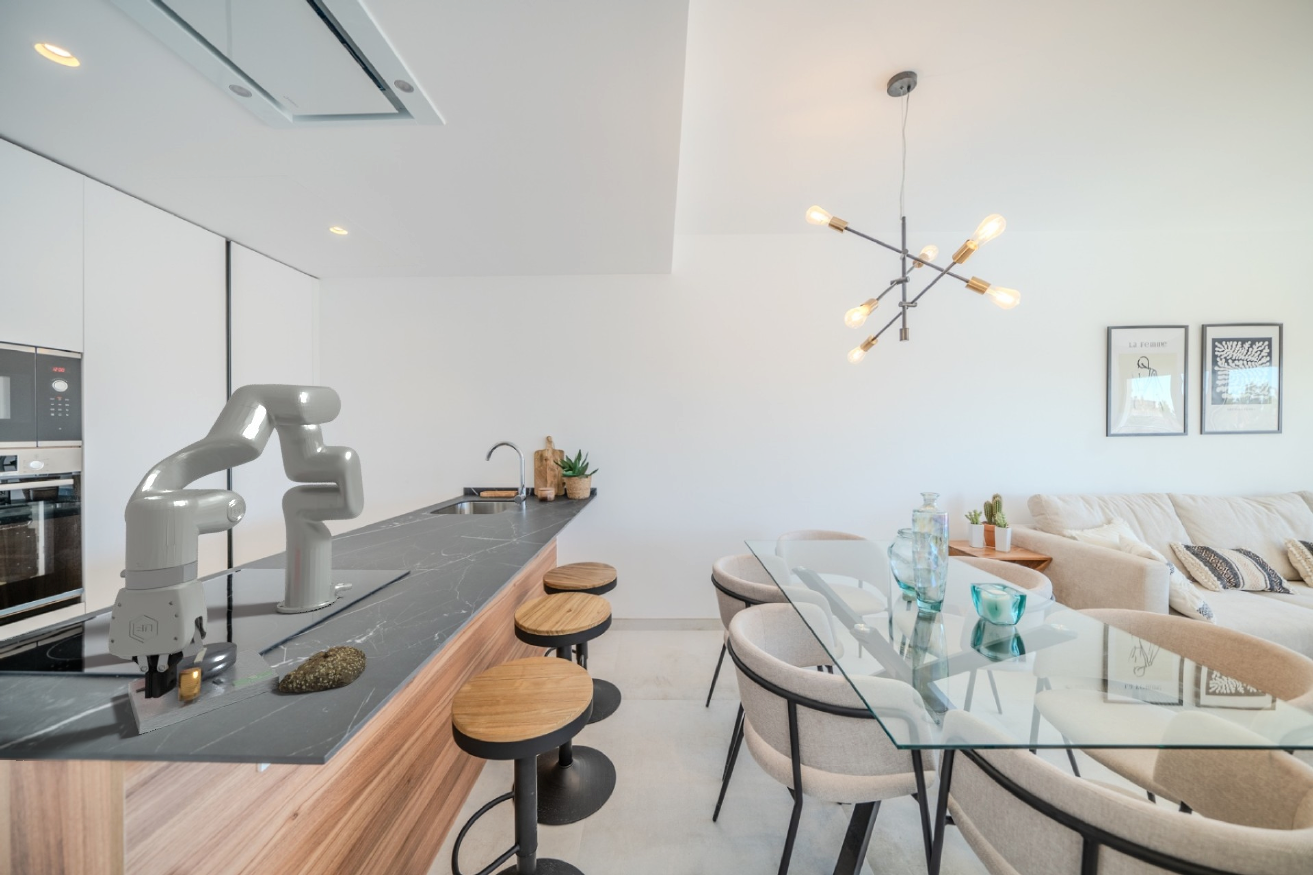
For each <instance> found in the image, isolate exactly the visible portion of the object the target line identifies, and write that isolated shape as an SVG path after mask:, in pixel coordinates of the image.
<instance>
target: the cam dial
mask: <svg viewBox="0 0 1313 875" xmlns="http://www.w3.org/2000/svg"><path fill="white" fill-rule="evenodd" d="M203 647H204V649H203V651H201V652H199V653H197V654H195V655H192V656H188V657H185V658H183V659H182V661H181V662H180V663H178V664H177V682H179V690H178V700H179V701H187V700H191V699H193V698H196V697H198V696H199V695H200V687H201V682H202V680H203V677H207V676H210V675H213V674H216V673H218V672H221V671H223V670H225V669H227V668H229V667H231V666H232V665H233V664H235V662H236V658H237V653H238V652H237V651H238V648H237V647H238V645H237V644H236V643H235V642H229V641H224V642H223V641H220V642H212V643H205V644H203Z"/></svg>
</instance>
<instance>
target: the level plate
mask: <svg viewBox="0 0 1313 875" xmlns="http://www.w3.org/2000/svg"><path fill="white" fill-rule="evenodd" d="M279 683H280V675H279V673H278V672H276V670H275V669H273V667H272V666H271V665H270V664H269V663H268V662H267V660H266V659H264V657H263V656H262V655H261V654H260V653H259V652H258V651H257V649H255V648H254V647H253V648H249V649H246V650H242V651H238V652H237V658H236V662H235V664H233V665H232V666H231V667H229V668H227V669H225V670H223V671H221V672H218V673H216V674H213V675H210V676H207V677H203V680H202V682H201V687H200V695H199V696H198V697H196V698H193V699H191V700H187V701H179V700H178V690H179V682H177V683H176V687H175V688H174V689H173V690H171V691H169V692H168V693H166V694H164V695H163V696H161V697H159V698H153V697H152V698H150V699H145V677H144V678H141V679H137V680H134V681H130V682H128V685H127V686H128V690H127V692H128V693H127V694H128V698H129V703H130V706H131V710H132V712H133V713H132V714H133V716H134V717H133V718H134V721H135V724H136V729H137V732H138V735H139V734H141V733H144V732H148V733H151V732H153V731H152V730H154V731H156V730H159V729H162V728H165V727H167V726H170V725H174V724H177V723H179V722H182V721H185V720H188V719H191V718H194V717H196V716H200V715H203V714H205V713H209V712H212V711H215V710H217V709H220V708H222V707H226V706H229V705H231V704H235V703H237V702H240V701H243V700H246V699H249V698H252V697H256V696H257V695H261V694H265V693H266V692H269V691H272V690H275V689H279V688H278V686H279ZM155 729H156V730H155ZM150 731H151V732H150Z"/></svg>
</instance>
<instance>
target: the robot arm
mask: <svg viewBox="0 0 1313 875" xmlns="http://www.w3.org/2000/svg"><path fill="white" fill-rule="evenodd" d="M341 402H342V401H341V398H340V395H339V394H338V392H337V391H336V390H335V389H334V388H332V387H329V386H321V385H320V386H319V385H318V386H317V385H302V384H301V385H299V384H286V383H285V384H283V383H281V384H280V383H279V384H277V383H266V384H265V383H264V384H263V383H262V384H260V383H259V384H257V383H255V384H247V385H243V386H240V387H238V388H237V389H235V391H234V392H233V393H232V394H231V396H230V397H229V398H228V401H226V403H225V404H224V406H223V408H222V410H221V412H220V413H219V415H218V416H217V418H216V420H215V421H214V424H213V425H212V427H211V428H210V430H209V432H208V433H207V434H206V436H205V437H204V438H201V439H200V440H197V441H195V442H193V443H191V444H188V445H187V446H185V447H183V448H181V449H179V450H177V451H176V452H174V453H172V454H171V455H168V456H167V457H165V458H163V459H161V460H160V461H159V462H157V463H156V464H154V465H153V466H152V467H151V468H150V469H149V470H148V471H147V473H146V474H145V475H144V476H143V477H142V479H141V480H140V482H139V484H138V485H137V486H136V487H135V489H134V491H133V492H132V494H131V496H130V497H129V499H128V502H127V503H126V506H125V509H124V522H125V561H124V562H125V563H124V566H125V567H124V569H122V570H121V571H120V572H119V576H120V578H122V579H124V580H125V581H124V583H125V584H124V587H122V588H120V589H119V590H118V592H117V594H116V597H115V600H114V602H113V607H112V611H111V616H110V623H109V630H108V642H107V643H108V645H107V646H108V648H107V649H108V652H109V654H110V655H113V656H116V657H118V658H119V659H123V660H130V661H133V662H134V663H135V664H137V666H138V669H139V672H141V673H142V674H144V675H145V676H144V678H145V699H150V698H152V697H153V698H159V697H161V696H163V695H164V694H166V693H168V692H169V691H171V690H173V689H174V688H175V687H176V683H177V664H178V663H180V662H181V661H182V659H183V658H185V657H188V656H192V655H195V654H197V653H199V652H201V651H203V649H204V647H203V645H204V643H203V640H204V639H205V638H206V636H207V633H208V609H207V600H206V595H205V590H204V587H203V582H202V580H201V579H198V569H199V568H198V565H199V564H198V563H199V560H198V558H199V536H200V535H206V534H207V535H208V534H216V533H221V532H225V531H228V530H231V529H232V528H234V527H235V526H237V525H238V524H239V523H240V522H241V521H242V520H243V518H244V516H245V513H246V511H247V510H246V509H247V505H246V501H245V499H244V498H243V497H242V495H241V494H239V493H237V492H235V491H233V490H229V489H223V488H222V489H221V488H217V489H216V488H215V489H214V488H207V489H206V488H202V489H199V488H193V489H192V488H189V489H188V488H186V487H187V486H189V485H190V484H192V483H193V482H195V481H197V480H199V479H201V478H204V477H207V476H208V475H212V474H215V473H217V472H218V473H219V472H221V471H225V470H228V469H232V468H235V467H239V466H242V465H244V464H248V463H250V462H252V461H253V462H254V460H257V459H258V458H259V457H261V455H262V454H263V453H264V450H265V448H266V446H267V444H268V441H269V440H270V437H271V435H272V434H273V431H274V430H276V432H277V434H278V435H277V436H278V439H279V445H280V451H281V458H282V463H283V464H282V465H283V470H284V473H285V476H286V477H287V479H288V480H290V481H291V482H295V483H302V484H301V485H297V486H292V487H290V488H289V489H288V490H287V491H285V492H284V494H283V496H282V499H281V508H282V513H283V514H282V515H283V517H284V522H285V523H284V525H285V540H286V541H285V566H284V567H285V570H284V571H285V572H284V573H285V576H284V578H285V579H284V600H282V601H279V602H278V603H277V605H276V611H277V612H279V613H281V614H282V613H283V614H299V613H300V612H301V613H307V612H311V611H310V610H313V611H315V610H314V609H317V608H320V607H322V606H325V605H327V604H330V603H331V602H334V601H335V600H336V599H337V598H339V596H338V594H339V592H346V591H349V590H350V591H351V590H352V589H353V588H352V587H353V584H352V582H346V583H343V582H339V583H334V582H332V552H333V550H332V547H333V546H332V544H333V537H332V533H331V531H330V529H329V527H328V526H327V525H326V524H325V523H324V521H343V520H346V521H347V520H353V519H356V518H358V517H360V515H361V514H362V513H363V511H364V507H365V506H364V505H365V496H364V495H365V494H364V486H363V475H362V466H361V460H360V457H359V454H358V453H357V451H356V450H355V449H354V448H352V447H350V446H344V445H342V446H341V445H326V444H325V443H324V438H323V432H322V431H323V430H322V428H321V424H327V423H331V422H332V421H334V420H336V418H337V417H338V415H340V412H341V407H342V403H341ZM304 483H305V484H304ZM310 483H311V484H310ZM314 483H316V484H314ZM317 483H318V484H317ZM320 483H321V484H320ZM324 483H325V484H324ZM329 483H330V484H329ZM332 483H334V484H332ZM337 600H338V599H337ZM317 610H318V609H317ZM306 611H307V612H306Z"/></svg>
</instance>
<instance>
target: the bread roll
mask: <svg viewBox="0 0 1313 875" xmlns="http://www.w3.org/2000/svg"><path fill="white" fill-rule="evenodd" d="M366 664H367V656H366V654H365V653H364V652H363V651H362V650H361V649H360V648H358V647H353V646H345V645H342V646H335V647H330V648H328V649H327V651H323V650H321V651H320V652H317V653H315V654H313V655H311V657H310V658H308V659H307V660H305V661H304V662H302V663H301V664H300V665H298V667H296V668H294V670H292V671H290V672H288V673H287V674H286V675H284V676H283V677H282V679H281V680H280V681H279V686H278V688H277V689H278V690H279V691H280V692H285V693H304V692H305V693H309V692H317V691H323V690H328V689H337V688H342V687H344V686H348V685H349V684H351V683H353V682H354V681H355V680H357V679H358V678H360V675H362V673H363V672H364V671H365V669H366V666H367V665H366Z"/></svg>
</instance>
